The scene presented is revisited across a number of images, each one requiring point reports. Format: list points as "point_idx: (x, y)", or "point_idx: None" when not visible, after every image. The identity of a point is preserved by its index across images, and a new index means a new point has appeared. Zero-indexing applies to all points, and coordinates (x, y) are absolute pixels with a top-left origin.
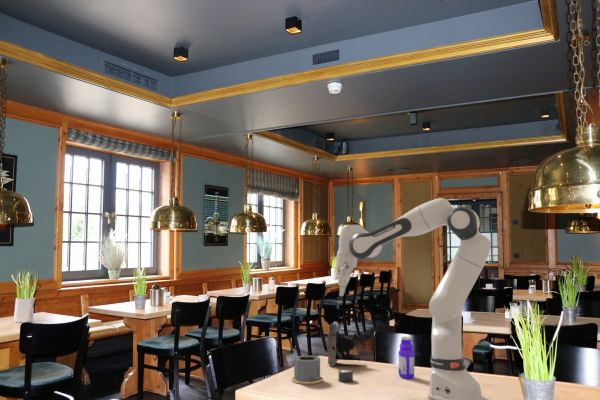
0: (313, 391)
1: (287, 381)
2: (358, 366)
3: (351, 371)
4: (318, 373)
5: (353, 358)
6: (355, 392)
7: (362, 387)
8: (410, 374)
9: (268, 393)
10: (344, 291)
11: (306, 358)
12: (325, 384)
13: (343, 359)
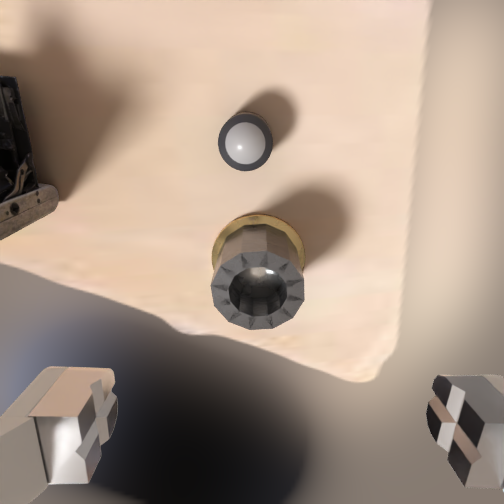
0: (377, 232)
1: None
2: None
3: (244, 120)
4: (276, 235)
5: (16, 112)
6: (396, 101)
7: (333, 74)
8: None
9: (389, 331)
10: (89, 392)
11: (229, 293)
12: (299, 203)
13: (31, 156)
